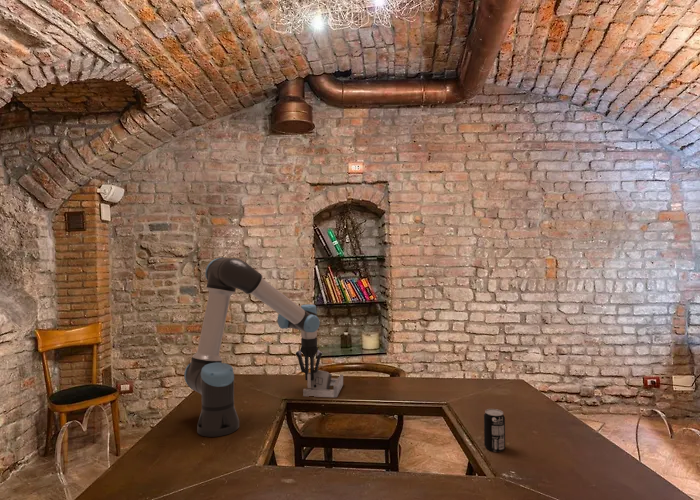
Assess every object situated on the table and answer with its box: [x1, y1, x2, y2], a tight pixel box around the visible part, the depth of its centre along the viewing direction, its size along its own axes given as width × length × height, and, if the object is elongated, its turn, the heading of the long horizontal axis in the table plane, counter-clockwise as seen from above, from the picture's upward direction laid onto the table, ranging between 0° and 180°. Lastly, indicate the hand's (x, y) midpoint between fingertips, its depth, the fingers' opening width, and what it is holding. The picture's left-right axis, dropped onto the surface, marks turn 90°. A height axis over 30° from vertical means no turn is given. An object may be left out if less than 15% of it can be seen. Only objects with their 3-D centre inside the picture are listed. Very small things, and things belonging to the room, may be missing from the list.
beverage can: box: [483, 408, 506, 453], centre depth 145 cm, size 7×7×12 cm
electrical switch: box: [310, 369, 333, 389], centre depth 206 cm, size 9×5×9 cm, turn 51°
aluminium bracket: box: [302, 374, 344, 398], centre depth 206 cm, size 18×16×5 cm
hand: (309, 387), depth 207 cm, fingers closed
